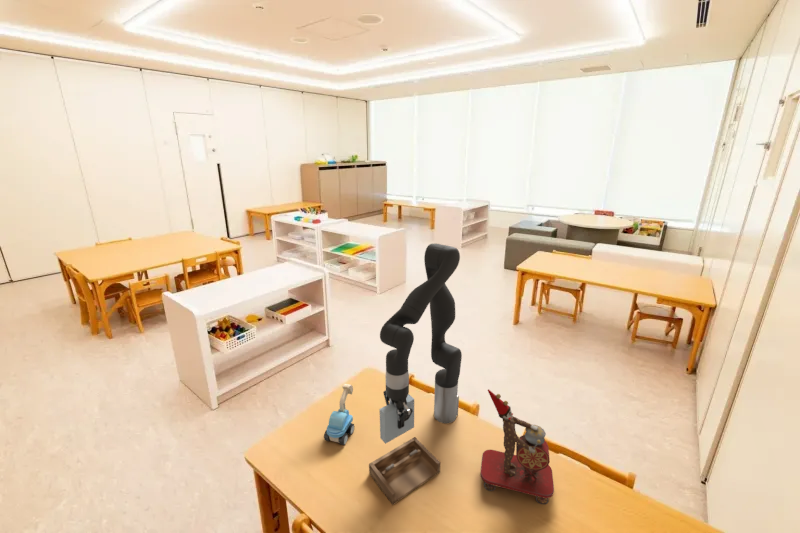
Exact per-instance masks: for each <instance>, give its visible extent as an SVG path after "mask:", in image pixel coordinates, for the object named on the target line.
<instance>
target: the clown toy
mask: <svg viewBox="0 0 800 533" xmlns="http://www.w3.org/2000/svg"><path fill="white" fill-rule="evenodd" d="M487 392H488V395H489V396H490V399H491V401H492V402H493V406H494V407H495V410H496V411H497V414H498V417H499V418H501V419H502V422H503V423H502V430H503V435H504V436H503V448H504V451H500V450H494V449H486V450H484V451H483V452H482V456H481V466H480V475H479V476H480V477H481V478H480V479H481V480H482V481H483V482H484V483H483V487H484V489H486V490H487V491H490V492H493V491H495V490H496V488H497V487H500V488H503V489H507V490H511V491H514V492H515V491H516V492H518V493H523V494H526V495H530V496H535V501H536V502H537V504H540V505H547V504H548V503H549V499H550V498H552V497H553V495H554V492H555V487H554V486H555V485H554V477H553V475H554V474H553V470H552V467H551V466H550V459H551V458H550V450H549V445H548V442H547V441H546V440H545V438H546V435H547V434H546V430H545V429H544V428H543V427H541V426H540V425H537V424H531V423H529V422H527V421H524V420H522V419H520V418H517V417H516V416H513V415H514V413H513V412H512V410H511V405H509V401H507V400H504V401H503V400H502V399H501V394H500V393H497V394H495V393H493V391H491V390H490V389H487ZM516 425H517V426H521V427H524V428H525V429H524V430H525V432H524V434H523V435H521V436H518V434H517V431H516ZM515 450H516V451H515Z"/></svg>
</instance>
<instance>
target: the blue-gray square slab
mask: <svg viewBox="0 0 800 533" xmlns="http://www.w3.org/2000/svg"><path fill="white" fill-rule="evenodd" d="M406 401H407V407H408V408H409V409H410V408H412V410H413V412H412V414H411V416H410V418H409V419H408V420H406V421H404V427H402V428H400V429H399V428H398V418H397V414H396V408H395V406H394V404H391V403H390V404H388V405H386V404H385V406H382V407H380V408H379V433H380V434H379V435H380V440H381V441H382V442H383V443H384V444H388V443H390V442H391V441H393V440H395V439H396V438H398V437H400V436H402V435H403V434H405V433H407V432H409V431H411V430H412V429H414V428H415V398H414V397H413V396H412V395H411V394H410V393H409V394H408V396H407V398H406ZM399 411H400V410H399ZM401 415H402V414H400V416H401Z"/></svg>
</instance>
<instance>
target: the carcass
mask: <svg viewBox="0 0 800 533" xmlns="http://www.w3.org/2000/svg"><path fill="white" fill-rule="evenodd" d="M440 473H441V462H440V460H439V459H437V457H436V456H434V455H433V453H432V452H430V450H429V449H428V448H427V447H425V445H424V444H423V443H422V442H420V440H419V439H418V438H417V437H416V436H414V437H412V438H411V439H409V440H407V441H405V442H403V443H402V444H400V445H399V446H397V447H395V448H394V449H392V450H390V451H388V452H387V453H385V454H383V455H382V456H380V457H378V458H377V459H375V460H373V461H372V462H370V463H369V464H368V474H369V475H370V477H371V478H372V479H373V481H374V482H375V483H376V485H377V486H378V488H379V489H380V490H381V492H382V493H383V494H384V495H385V497H386V498H387V500H388V501H389V502H390V504H391V505H392V506H393V505H396V504H397V503H398V502H399V501H401V500H402V499H403V498H405V497H406V496H408V495H409V494H411V493H412V492H413V491H416V489H418V488H420V487H421V486H422V485H424V484H426V482H428V481H429V480H431V479H433V478H434V477H435V476H437V475H438V474H440Z"/></svg>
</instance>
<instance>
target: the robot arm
mask: <svg viewBox="0 0 800 533" xmlns="http://www.w3.org/2000/svg"><path fill="white" fill-rule="evenodd" d="M423 259H424V261H423V262H424V268H425V274H426V280H425V281H424V282H423V283H421V284H419V285H418V286H417V287H415V288H414V289H412V291H411V292H410V293H409V294H408V296H407V297H406V299H405V300H404V302H403V303H402V305H401V307H400V308H399V310H397V311H396V312H395V313H394V314H393V315H391V317H389V319H388V320H386V322H384V324H383V325H382V327H381V329H380V332H379V338H380V341H381V343H382V344H384V345H387V346H389V347H391V348H393V349H391V350H389V351H388V352H387V353H386V356H385V375H384V376H385V390H384V391H383V396H384V400H385V406H386V405H388V404H390V403H391V404H394V406H395V408H396V414H397V418H398V428H399V429H400V428H402V427H404V421H406V420H408V419H409V418H410V416H411V414H412V412H413V410H412V408H410V409H409V408H408V407H407V401H406V398H407V396H408V394H409V395H410V387H409V386H410V375H409V374H410V373H409V357H410V354H411V350H412V346H413V345H414V338H415V337H414V332H413V331H412V330H411V329H409V327H406V326H405V325H416V324H417V323H419V321H420V319H421V318H422V317H423V314H424V313H425V311H426V309H427V308H428V306H429V312H430V320H431V322H430V324H431V326H430V327H431V343H430V344H431V346H430V347H431V348H430V349H431V350H430V353H431V354H430V356H431V361H432V362H433V363H434V365H436V366H438V367H441V368H442V369H439V370H437V371H436V372H435V376H434V397H433V398H434V400H433V401H434V402H433V404H434V405H433V417H434V419H435V420H436V421H437V422H439V423H441V424H450V423H453V422H454V421H455V420H456V419H457V416H459V404H460V403H459V401H460V399H459V398H460V396H459V395H458V391H459V390H458V388H459V378H460V374H461V365H462V358H463V357H462V355H463V354H462V350H461V349H460V348H459V347H457V346H454V345H451V344H449V343H447V342H446V339H445V338H446V337H445V336H446V333H447V331H448V330H449V329H450V328H451V327H452V325H453V324H454V322H455V320H456V303H455V299H454V297H453V294H452V293H451V291H450V289H449V288H448V286H447V284H446V283H447V281H449V279H450V277H452V276H453V274H454V272H455V271H456V270H457V268H458V266H459V264H460V259H461V255H460V251H459V249H457V247H455V246H450V245H446V244H442V243H441V244H440V243H430V244H428V245H427V246H426V248H425V251H424V257H423ZM399 410H400V411H399ZM400 414H402V415H401V416H400Z"/></svg>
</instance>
